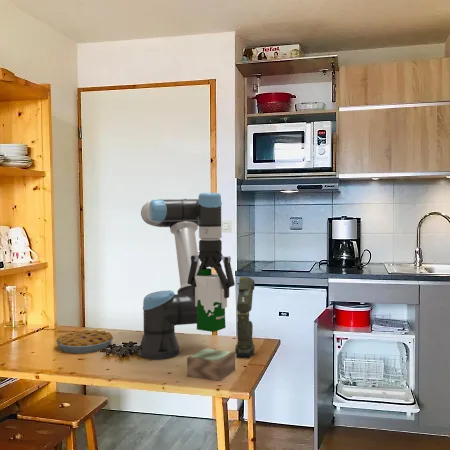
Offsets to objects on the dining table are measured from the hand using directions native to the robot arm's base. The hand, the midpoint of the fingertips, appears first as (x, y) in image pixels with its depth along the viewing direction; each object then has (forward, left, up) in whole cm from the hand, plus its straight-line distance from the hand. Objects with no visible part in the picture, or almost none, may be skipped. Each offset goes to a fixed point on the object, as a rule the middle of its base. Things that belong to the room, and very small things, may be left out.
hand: (211, 306), depth 171 cm
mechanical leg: (+2, +25, -23) cm, 34 cm away
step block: (0, 0, -22) cm, 22 cm away
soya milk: (0, 0, -8) cm, 8 cm away
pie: (-61, +9, -23) cm, 66 cm away
